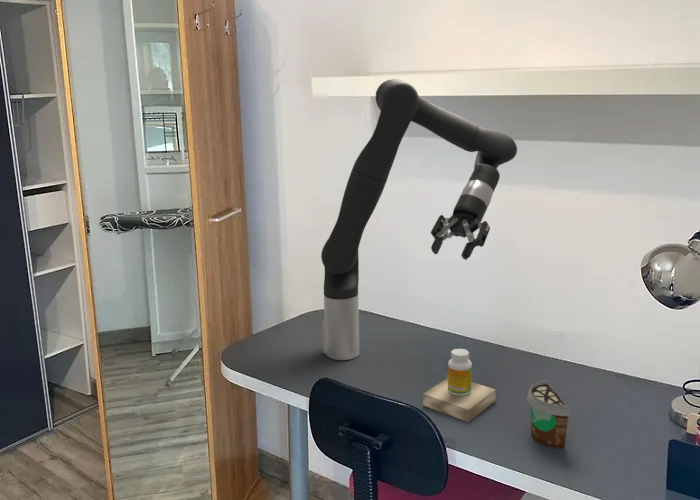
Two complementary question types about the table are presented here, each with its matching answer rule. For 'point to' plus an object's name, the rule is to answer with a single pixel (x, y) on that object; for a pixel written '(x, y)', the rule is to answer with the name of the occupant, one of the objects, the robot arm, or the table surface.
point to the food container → (547, 415)
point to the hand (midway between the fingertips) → (448, 255)
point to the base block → (459, 400)
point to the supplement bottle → (459, 373)
